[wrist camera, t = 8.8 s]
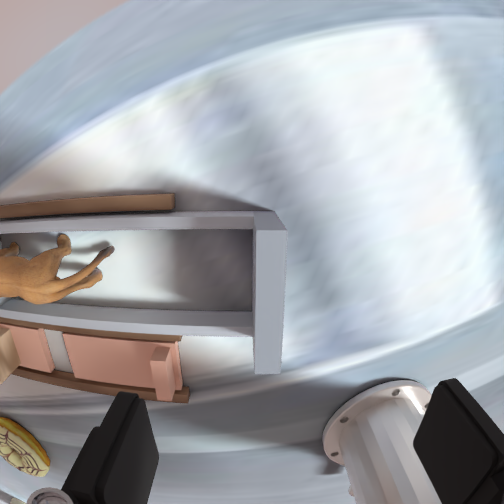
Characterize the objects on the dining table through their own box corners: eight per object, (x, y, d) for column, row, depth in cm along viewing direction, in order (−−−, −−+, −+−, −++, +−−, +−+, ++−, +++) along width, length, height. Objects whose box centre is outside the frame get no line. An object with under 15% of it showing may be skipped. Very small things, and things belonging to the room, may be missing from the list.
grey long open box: (271, 320, 24) (280, 373, 18) (6, 305, 24) (-36, 336, 17) (274, 211, 22) (287, 230, 15) (-8, 220, 22) (-60, 237, 15)
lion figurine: (5, 300, 24) (-52, 341, 15) (-12, 248, 22) (-76, 277, 14) (126, 276, 23) (72, 330, 15) (107, 209, 22) (39, 234, 13)
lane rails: (190, 395, 26) (188, 403, 25) (-23, 356, 26) (-28, 361, 24) (174, 193, 22) (170, 194, 21) (-57, 213, 21) (-64, 215, 20)
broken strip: (182, 383, 26) (177, 405, 23) (-18, 349, 25) (-32, 362, 22) (177, 337, 25) (169, 357, 22) (-30, 312, 24) (-46, 323, 21)
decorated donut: (29, 464, 31) (20, 479, 28) (-16, 415, 29) (-28, 429, 25) (65, 464, 30) (56, 482, 27) (14, 408, 28) (1, 425, 24)
